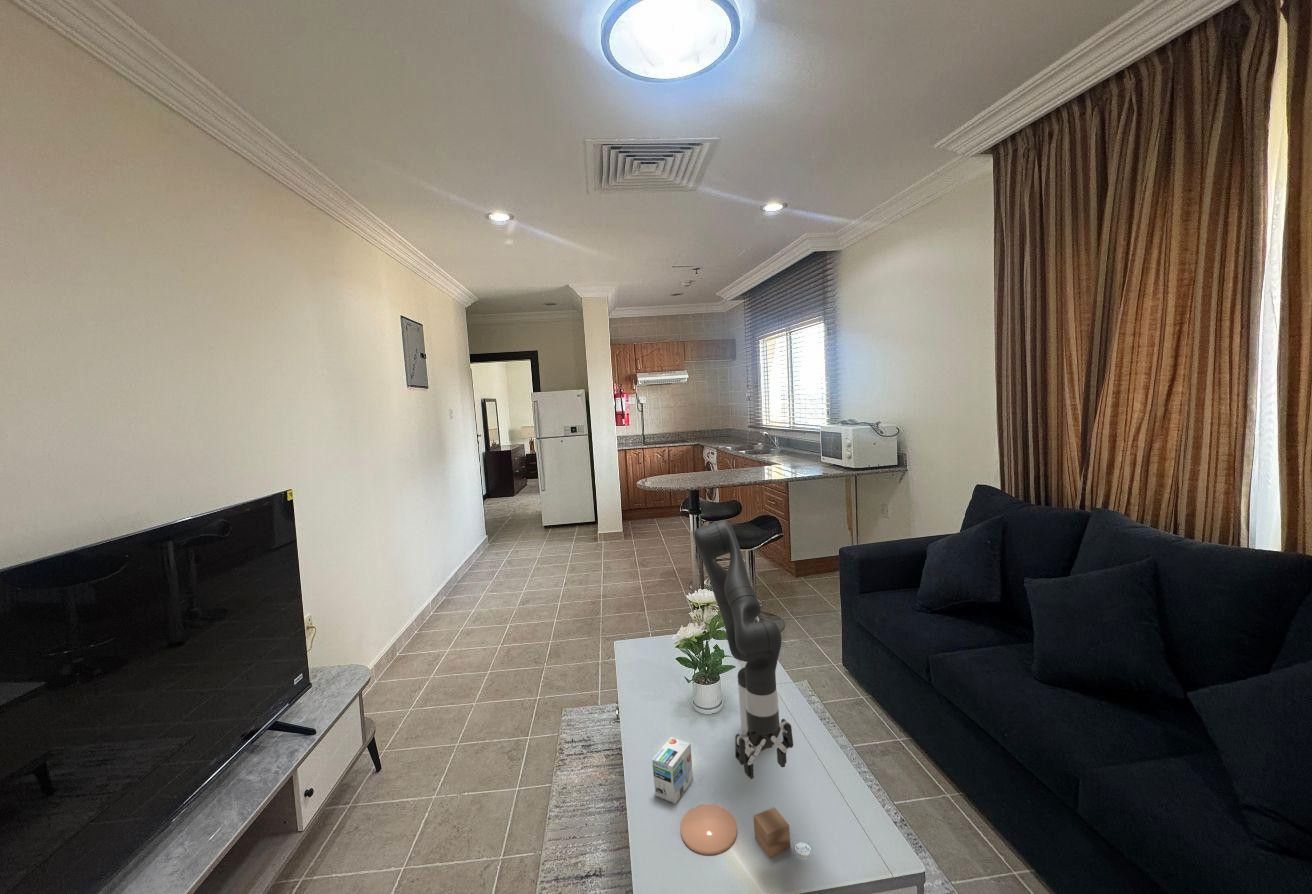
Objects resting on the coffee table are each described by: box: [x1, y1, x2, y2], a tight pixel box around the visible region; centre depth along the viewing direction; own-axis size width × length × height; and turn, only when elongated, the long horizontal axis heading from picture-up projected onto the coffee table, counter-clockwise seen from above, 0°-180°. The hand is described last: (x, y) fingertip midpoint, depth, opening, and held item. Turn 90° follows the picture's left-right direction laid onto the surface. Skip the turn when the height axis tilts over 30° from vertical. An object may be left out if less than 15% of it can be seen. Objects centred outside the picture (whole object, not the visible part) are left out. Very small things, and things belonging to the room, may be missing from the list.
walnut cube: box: [753, 806, 791, 859], centre depth 124 cm, size 6×6×6 cm
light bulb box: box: [651, 736, 694, 804], centre depth 144 cm, size 11×7×11 cm, turn 148°
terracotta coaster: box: [679, 803, 738, 856], centre depth 129 cm, size 14×14×1 cm
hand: (765, 770), depth 122 cm, fingers open, 8 cm apart
